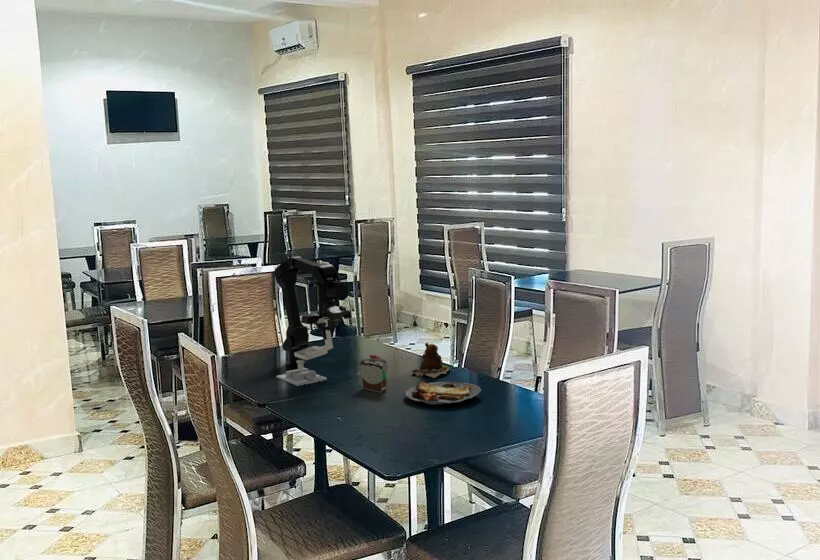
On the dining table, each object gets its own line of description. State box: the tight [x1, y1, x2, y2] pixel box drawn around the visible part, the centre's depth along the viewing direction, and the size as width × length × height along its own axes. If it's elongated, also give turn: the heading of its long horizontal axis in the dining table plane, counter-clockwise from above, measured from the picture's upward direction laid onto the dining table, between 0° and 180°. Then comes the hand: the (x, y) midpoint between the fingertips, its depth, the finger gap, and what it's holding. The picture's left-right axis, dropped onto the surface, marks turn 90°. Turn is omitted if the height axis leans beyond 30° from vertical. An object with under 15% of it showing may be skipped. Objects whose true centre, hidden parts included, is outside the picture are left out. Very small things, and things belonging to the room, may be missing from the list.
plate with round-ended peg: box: [275, 359, 327, 387], centre depth 291 cm, size 16×12×7 cm
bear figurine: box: [410, 342, 450, 379], centre depth 294 cm, size 14×15×12 cm
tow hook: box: [356, 354, 381, 376], centre depth 296 cm, size 7×10×7 cm
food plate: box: [403, 380, 482, 406], centre depth 261 cm, size 25×23×4 cm
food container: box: [358, 358, 390, 394], centre depth 274 cm, size 12×6×10 cm, turn 47°
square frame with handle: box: [294, 329, 334, 361], centre depth 294 cm, size 14×9×7 cm, turn 126°
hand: (327, 339), depth 298 cm, fingers closed on square frame with handle, 2 cm apart
